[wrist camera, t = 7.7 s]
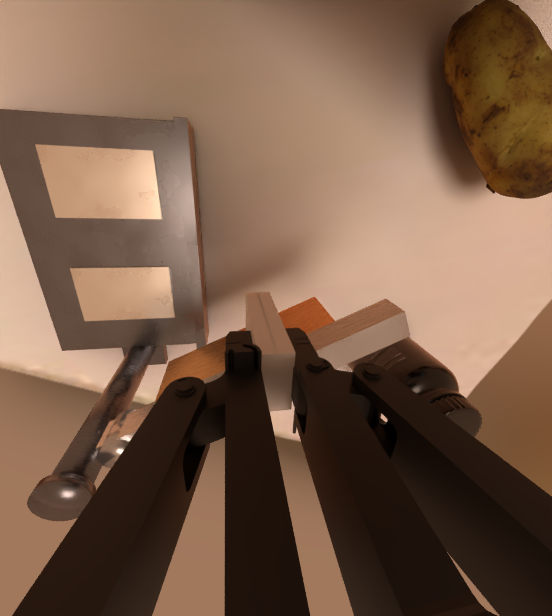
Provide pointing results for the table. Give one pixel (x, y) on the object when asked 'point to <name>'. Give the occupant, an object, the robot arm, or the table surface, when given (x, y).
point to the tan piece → (307, 316)
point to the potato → (503, 96)
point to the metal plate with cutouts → (110, 225)
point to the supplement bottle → (426, 380)
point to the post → (91, 441)
